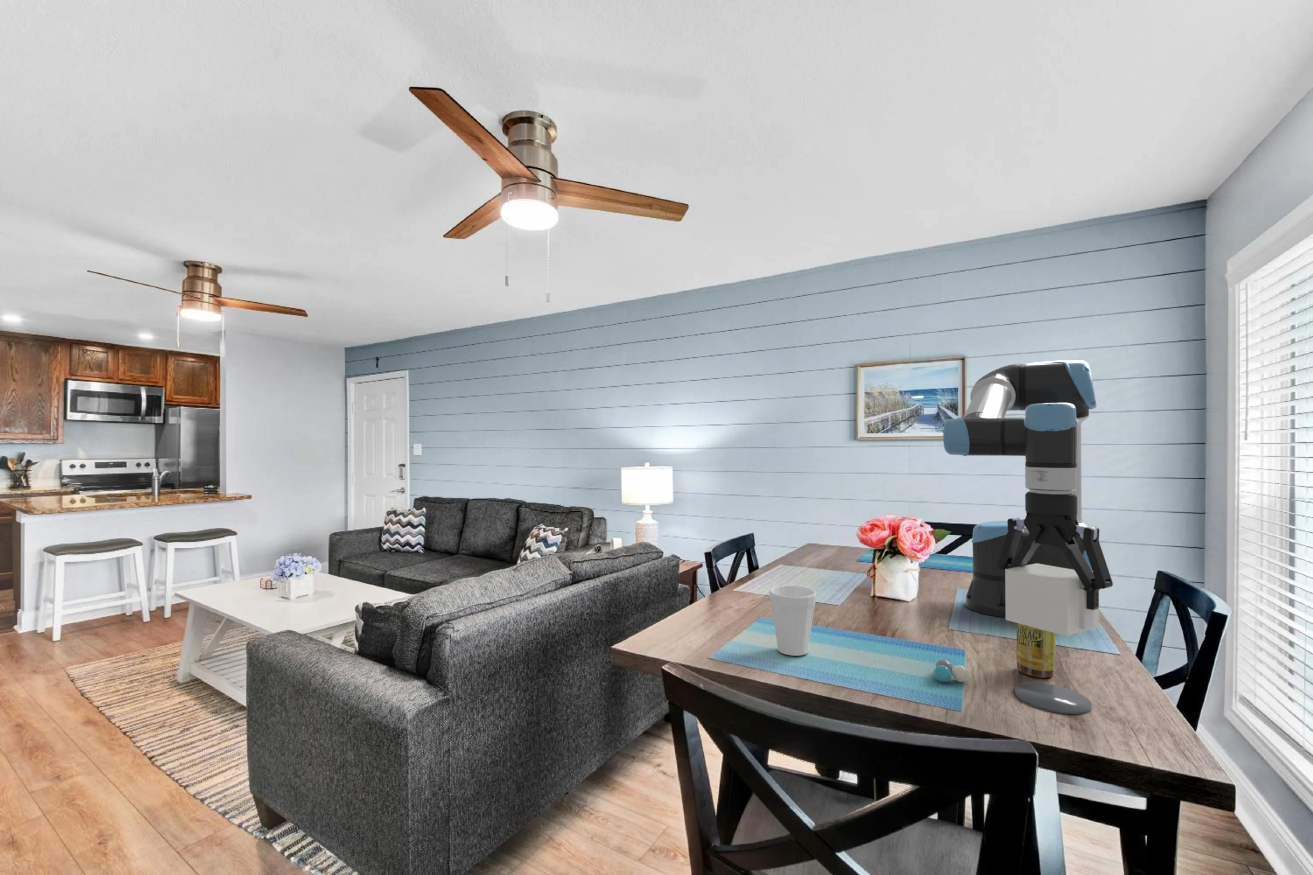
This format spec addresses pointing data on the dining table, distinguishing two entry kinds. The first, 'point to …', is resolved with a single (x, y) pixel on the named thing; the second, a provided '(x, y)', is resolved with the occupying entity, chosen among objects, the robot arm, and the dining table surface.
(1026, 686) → the dark grey disc
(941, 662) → the smoky marble
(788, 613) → the cup
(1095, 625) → the white block
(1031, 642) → the sauce bottle
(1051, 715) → the dining table surface
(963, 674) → the cream marble
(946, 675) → the teal marble
